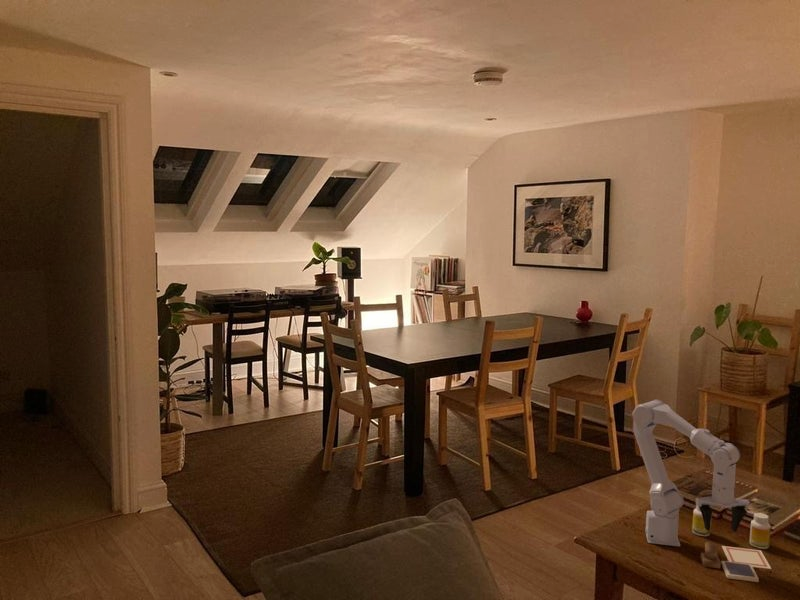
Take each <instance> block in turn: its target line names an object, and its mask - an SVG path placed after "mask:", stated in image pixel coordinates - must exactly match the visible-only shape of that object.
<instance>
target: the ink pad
mask: <svg viewBox="0 0 800 600" xmlns="http://www.w3.org/2000/svg"><path fill="white" fill-rule="evenodd" d="M720 562H721V565H720V566H721V567H722V569H723V571H724V574H725V576H726V579H731V580H740V581H746V582H754V583H759V579H760V578H759V577H758V574H757V572H756V571H755V568H754V567H752V565H751V564H744V563H736V562H729V561H728V560H720Z"/></svg>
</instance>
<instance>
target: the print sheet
mask: <svg viewBox="0 0 800 600" xmlns="http://www.w3.org/2000/svg"><path fill="white" fill-rule="evenodd" d="M721 548H722V550H723V552H724V554H725V557H726V559H727V561H728V562H736V563H744V564H751V565H752V567H753V568H758V569H763V570H764V569H766V570H772V567H771V565H770V564H769V562H768V560H767V558H766V557H765V555H764V553H763V552H762V549H760V550H759V549H751V548H743V547H735V546H734V547H733V546H726V545H721Z"/></svg>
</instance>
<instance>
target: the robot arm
mask: <svg viewBox="0 0 800 600" xmlns="http://www.w3.org/2000/svg"><path fill="white" fill-rule="evenodd" d="M631 415H632V417H633V418H632V419H633V422H632V431H633V434H634V437H635V440H636V443H637V445H638V448H639V452H640V455H641V458H642V460H643V463H644V465H645V469H646V471H647V472H646V473H647V475H648V477H649V480H650V484H651V486H650V488H649V489H650V490H649V492H648V494H649V497H650V501H649V502H650V503H649V504H650V507H651V510H647V511H646V515H645V516H646V518H645V530H644V531H645V535H646V536H645V537H646V540H647V543H648V544H654V545H662V546H663V545H665V546H672V547H681V543H680V540H679V537H678V534H679V533H678V532H679V517H680V516H679V514H680V513H679V512H680V508H682V507H683V505H684V497H683V495H682V493H681V492H680V491H679V489H678V487H677V485H676V483H674V482H673V481H672V480H670V479H669V475H668V473H667V470H666V466H665V464H664V462H663V459H662V456H661V452H660V451H659V450H660V449H659V447H658V445H657V441H656V439H655V436H654V434H653V431H654V429H655V428H656V426H657V425H658V424H660V425H661V424H666V425H668V426H670V427H671V428H673V429H675V431H678V432H679V433H681V434H683V435H684V436H686V437H688V438H689V441H690V444H691V445H693V446H694V447H696V448H697V449H698V450H700V451H701V452H702V453H704V454H706V455H707V456H709V457H710V459H711V462H712V464H713V472H712V488H711V491H712V492H711V496H704V497H703V496H701V497H695V506H696V505H697V506H698V507H699V508H700V511H701V513H702V516H703V520H704V526H705V529H706V530H707V531H710V521H711V522H712V518H711V516H712V515H713V511H712V509H711V507H723V508H725V509H731V521H730V522H731V523H730V526H731V527H730V529H731V530H732V531H733V532H734V533H735V532H737V531H738V529H739V526H740V524H741V521H742V520H743V519H744V517H745V516H746V515H747V513H748V511H747V509H750V503H751V502H750V501H749V500H748V499H745V498H738V497H735V484H736V483H735V482H736V469H737V467H736V466H737V464H736V463H737V462H738V461H739V460H740V458H741V452H740V450H739V449H738V447H736V445H734V444H733V443H730V442H725V441H724V440H722V439H719V438H718V437H717V436H715V435H713V434H712V433H711V431H710V430H709V429H707V428H706V429H704V428H702V427H701V428H696V427H694V426H693V425H692V424H690V423H689V422H688V421H687V420H685V419H684V418H683V417H681V416H680V415H679V414H677V412H675V411H674V410H672V408H671V406H669V405H668V404H666V403H664V402H663V401H662V400H660V399H653V400H651V401H648V402H645V403H640V404H637V405H636V406H635V408H634V409H633V411H632V412H631ZM710 532H711V531H710ZM737 533H738V532H737Z"/></svg>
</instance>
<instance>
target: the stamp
mask: <svg viewBox="0 0 800 600" xmlns="http://www.w3.org/2000/svg"><path fill="white" fill-rule="evenodd" d="M704 547H705V548H704V552H700V561H701V564H702V567H704V568H705V567H707V568H715V569H721V566H722V565H721V560H720V558H719V555H718V544H717V543H715V542H713V541H706V542H705V545H704Z"/></svg>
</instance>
